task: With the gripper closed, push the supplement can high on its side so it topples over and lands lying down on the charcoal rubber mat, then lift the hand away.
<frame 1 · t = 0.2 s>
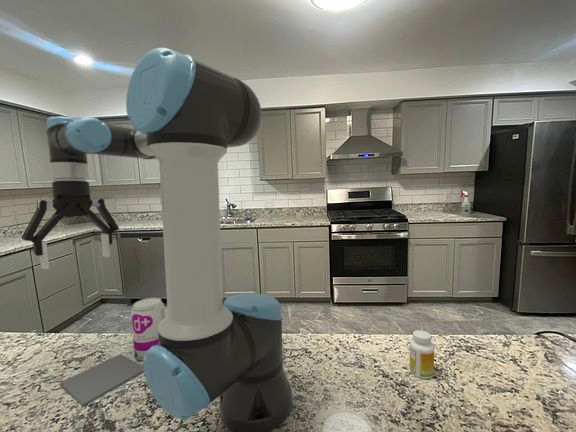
hand: (78, 262, 72), 28 cm above the countertop, tool pointing down, fingers open, 13 cm apart
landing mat: (104, 377, 68), on the countertop
supplement can: (151, 354, 78), on the countertop
supplement bottle: (421, 373, 67), on the countertop
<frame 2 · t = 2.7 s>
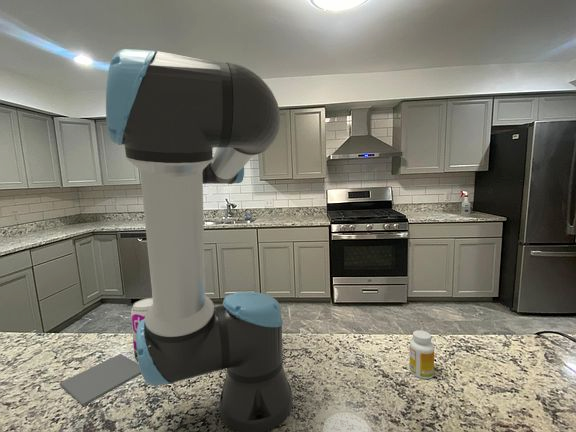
hand: (181, 279, 86), 18 cm above the countertop, tool pointing down, fingers closed
nothing on the countertop moved.
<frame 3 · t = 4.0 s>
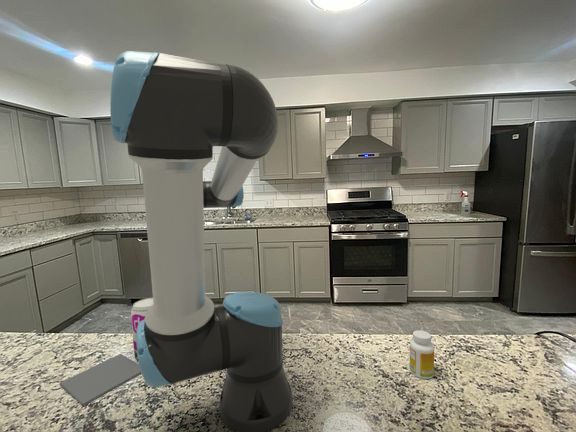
hand: (179, 302, 86), 11 cm above the countertop, tool pointing down, fingers closed
nothing on the countertop moved.
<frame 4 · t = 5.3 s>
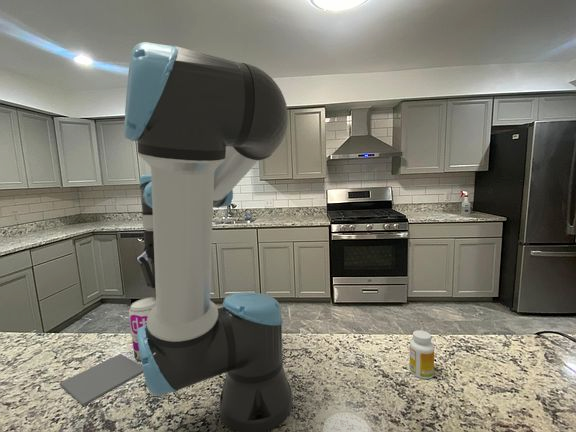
hand: (163, 307, 81), 12 cm above the countertop, tool pointing down, fingers closed
supplement can: (151, 353, 78), on the countertop, touching gripper
everything else where it was.
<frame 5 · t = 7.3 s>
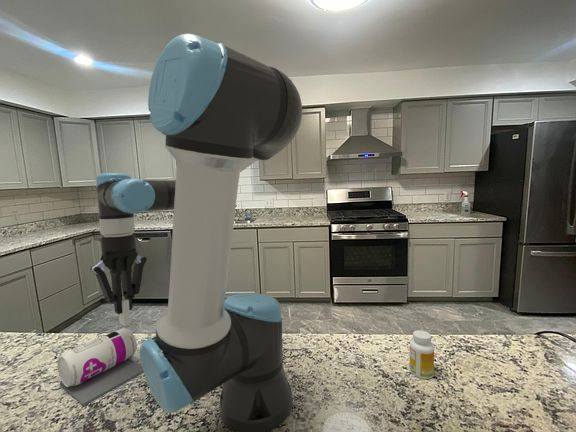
hand: (124, 323, 72), 11 cm above the countertop, tool pointing down, fingers closed
supplement can: (130, 341, 77), point 5 cm above the countertop, touching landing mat
everything else where it was.
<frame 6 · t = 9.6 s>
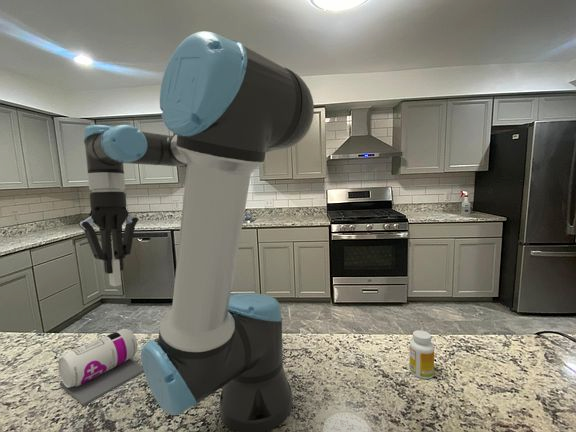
hand: (115, 284, 70), 22 cm above the countertop, tool pointing down, fingers closed
nothing on the countertop moved.
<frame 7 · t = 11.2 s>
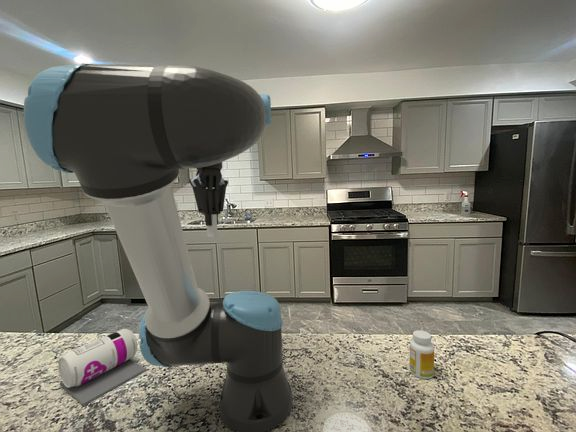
hand: (212, 236, 81), 32 cm above the countertop, tool pointing down, fingers closed
nothing on the countertop moved.
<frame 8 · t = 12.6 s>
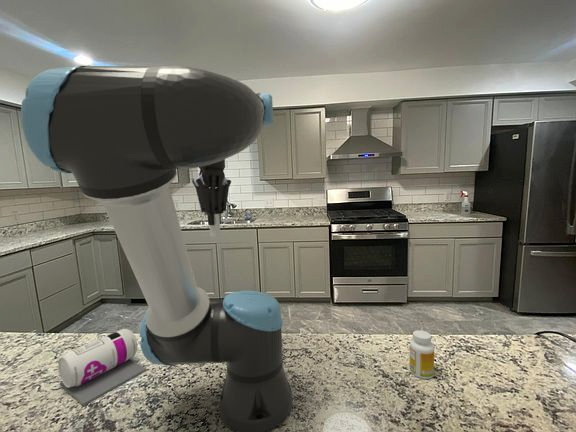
hand: (215, 235, 82), 32 cm above the countertop, tool pointing down, fingers closed
nothing on the countertop moved.
at the end: supplement can tilted 90°; supplement can inside the target area (3.0 cm from its centre), point 4.6 cm above the countertop; supplement can touching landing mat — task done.
